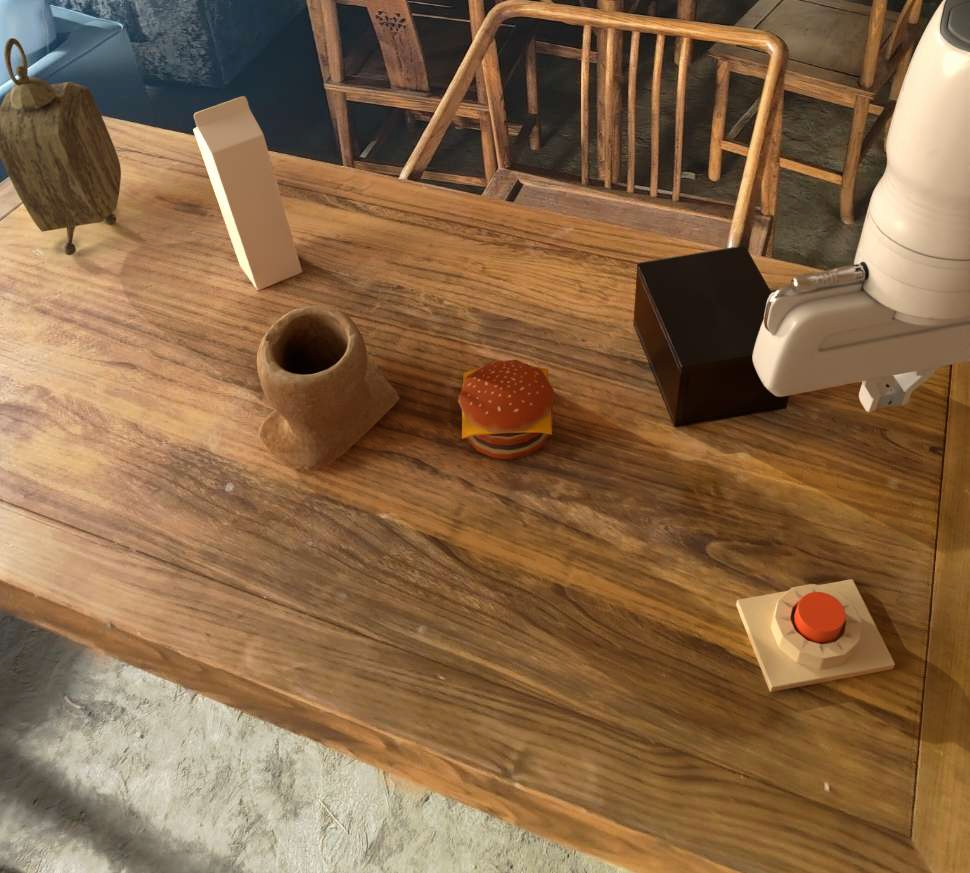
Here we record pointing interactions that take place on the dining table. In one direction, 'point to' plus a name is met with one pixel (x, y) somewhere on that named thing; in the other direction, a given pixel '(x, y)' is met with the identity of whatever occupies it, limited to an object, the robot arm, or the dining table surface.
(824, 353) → the robot arm
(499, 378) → the hamburger
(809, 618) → the button
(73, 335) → the dining table surface
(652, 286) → the dark brown box
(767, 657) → the button base
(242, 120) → the milk
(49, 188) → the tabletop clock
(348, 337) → the stone cup
